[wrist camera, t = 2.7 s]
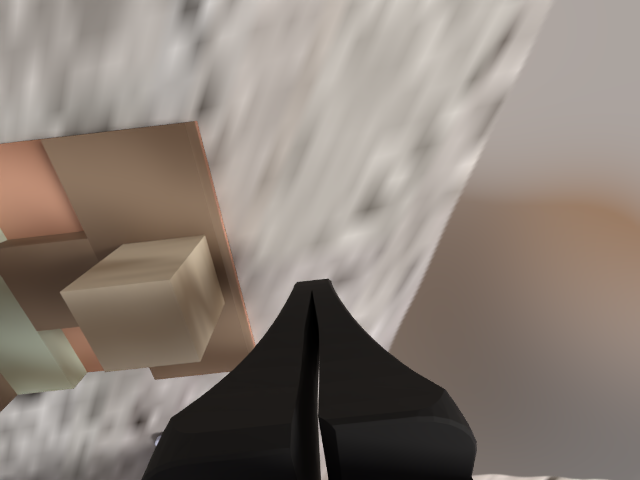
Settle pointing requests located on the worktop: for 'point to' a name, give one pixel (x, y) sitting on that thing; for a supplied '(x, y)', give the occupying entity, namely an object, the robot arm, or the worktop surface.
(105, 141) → the box
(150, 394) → the worktop surface
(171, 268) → the birch block
